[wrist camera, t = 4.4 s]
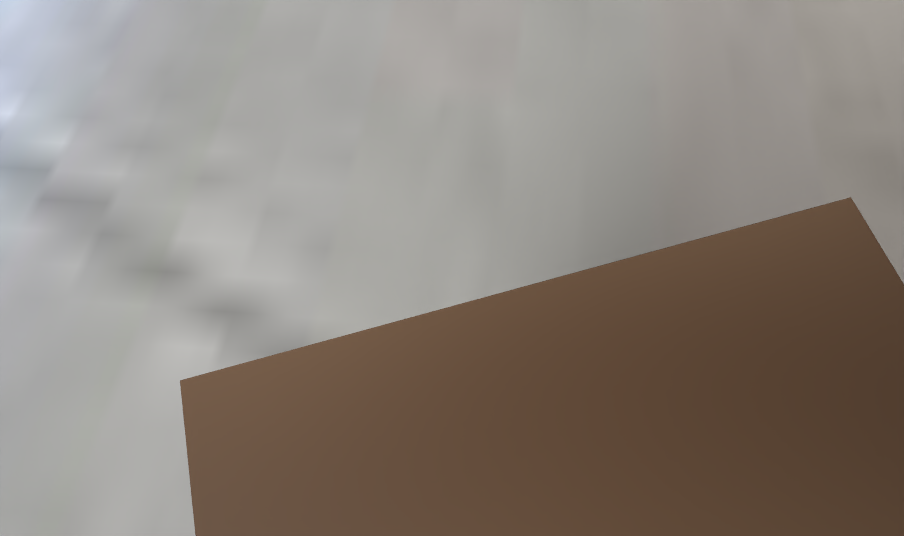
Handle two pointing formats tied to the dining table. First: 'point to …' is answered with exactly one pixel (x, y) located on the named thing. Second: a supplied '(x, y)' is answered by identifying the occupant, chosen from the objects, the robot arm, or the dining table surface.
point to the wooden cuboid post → (587, 404)
